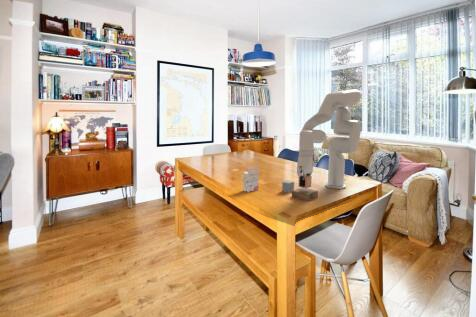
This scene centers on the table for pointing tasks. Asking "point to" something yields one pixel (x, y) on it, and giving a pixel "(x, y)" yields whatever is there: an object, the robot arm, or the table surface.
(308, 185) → the terracotta block
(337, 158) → the robot arm
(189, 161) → the table surface
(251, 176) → the ink cartridge box
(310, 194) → the walnut block
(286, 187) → the slate grey block
